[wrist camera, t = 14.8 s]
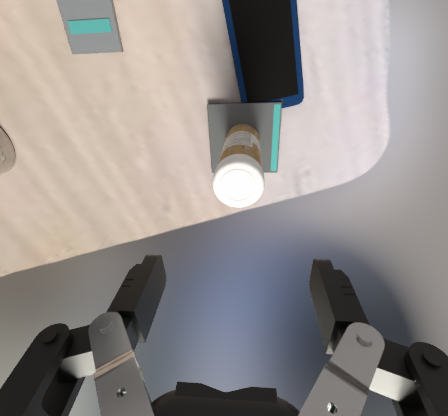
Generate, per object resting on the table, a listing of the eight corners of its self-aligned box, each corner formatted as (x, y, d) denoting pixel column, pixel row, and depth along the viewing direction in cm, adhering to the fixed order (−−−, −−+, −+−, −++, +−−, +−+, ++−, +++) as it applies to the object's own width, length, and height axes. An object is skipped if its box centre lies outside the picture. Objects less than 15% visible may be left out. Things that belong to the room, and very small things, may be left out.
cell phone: (291, -49, 25) (292, -52, 24) (303, 102, 32) (304, 103, 31) (217, -24, 26) (217, -26, 26) (244, 116, 33) (244, 117, 32)
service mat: (212, 170, 37) (212, 172, 36) (207, 103, 32) (207, 104, 32) (276, 170, 36) (277, 172, 35) (281, 101, 31) (281, 102, 31)
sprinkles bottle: (258, 157, 35) (262, 210, 23) (224, 156, 35) (212, 208, 24) (261, 122, 32) (266, 162, 21) (224, 122, 33) (210, 160, 21)
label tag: (74, 54, 31) (72, 54, 30) (59, 0, 28) (55, -1, 28) (123, 51, 30) (121, 51, 30) (111, -4, 28) (109, -5, 27)
